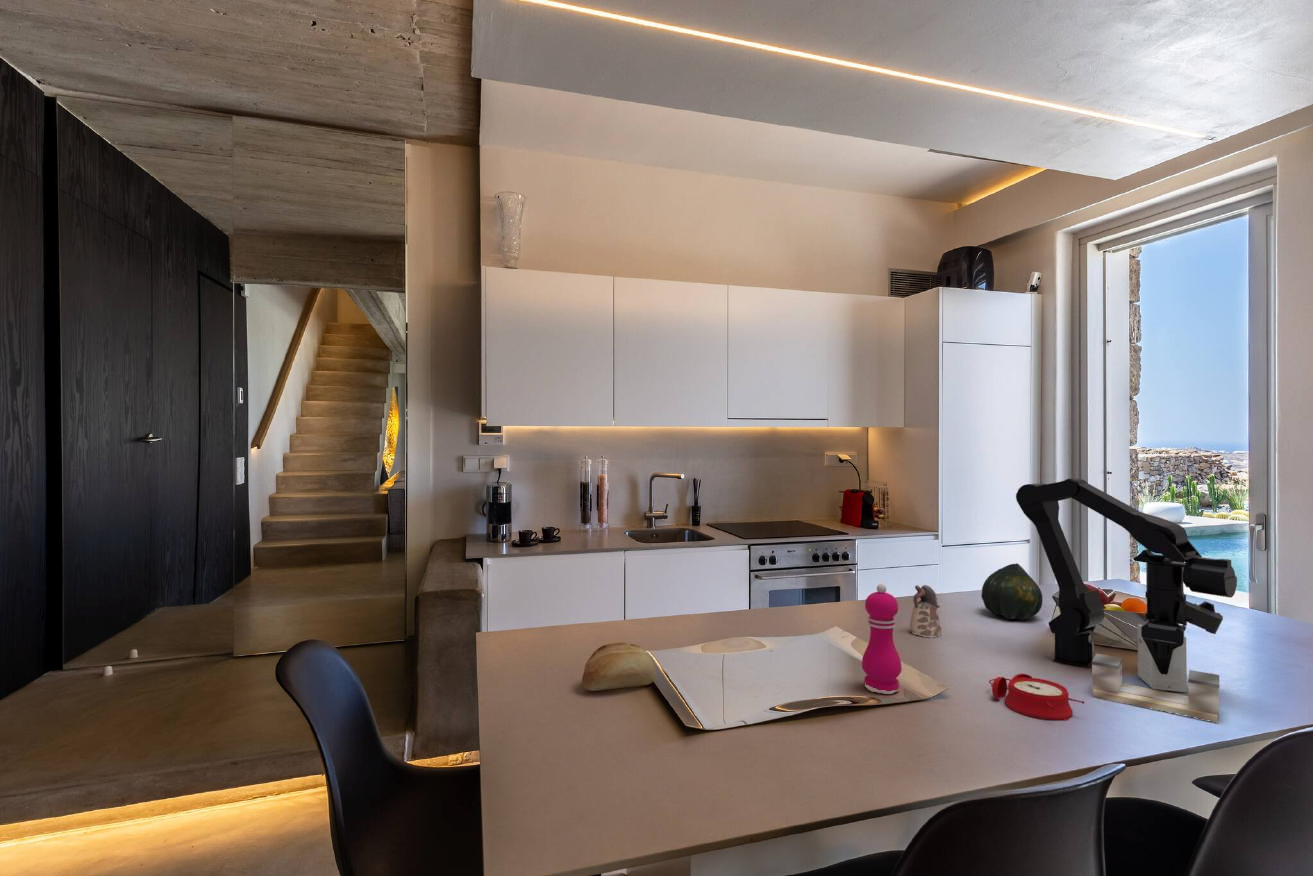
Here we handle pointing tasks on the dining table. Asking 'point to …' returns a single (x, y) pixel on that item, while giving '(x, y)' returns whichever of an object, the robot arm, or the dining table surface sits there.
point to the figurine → (925, 612)
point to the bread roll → (618, 667)
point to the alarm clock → (1034, 697)
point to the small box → (1151, 674)
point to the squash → (1012, 593)
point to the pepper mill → (881, 642)
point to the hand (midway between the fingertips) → (1165, 667)
